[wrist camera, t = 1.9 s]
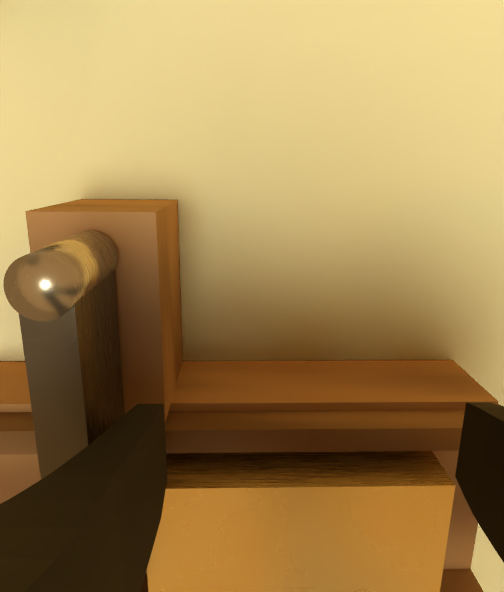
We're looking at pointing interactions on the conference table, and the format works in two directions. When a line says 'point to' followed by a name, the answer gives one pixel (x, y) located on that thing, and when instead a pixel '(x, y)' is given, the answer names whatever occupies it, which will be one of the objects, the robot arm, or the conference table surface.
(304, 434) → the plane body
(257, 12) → the conference table surface
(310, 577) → the wooden block
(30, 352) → the lever
